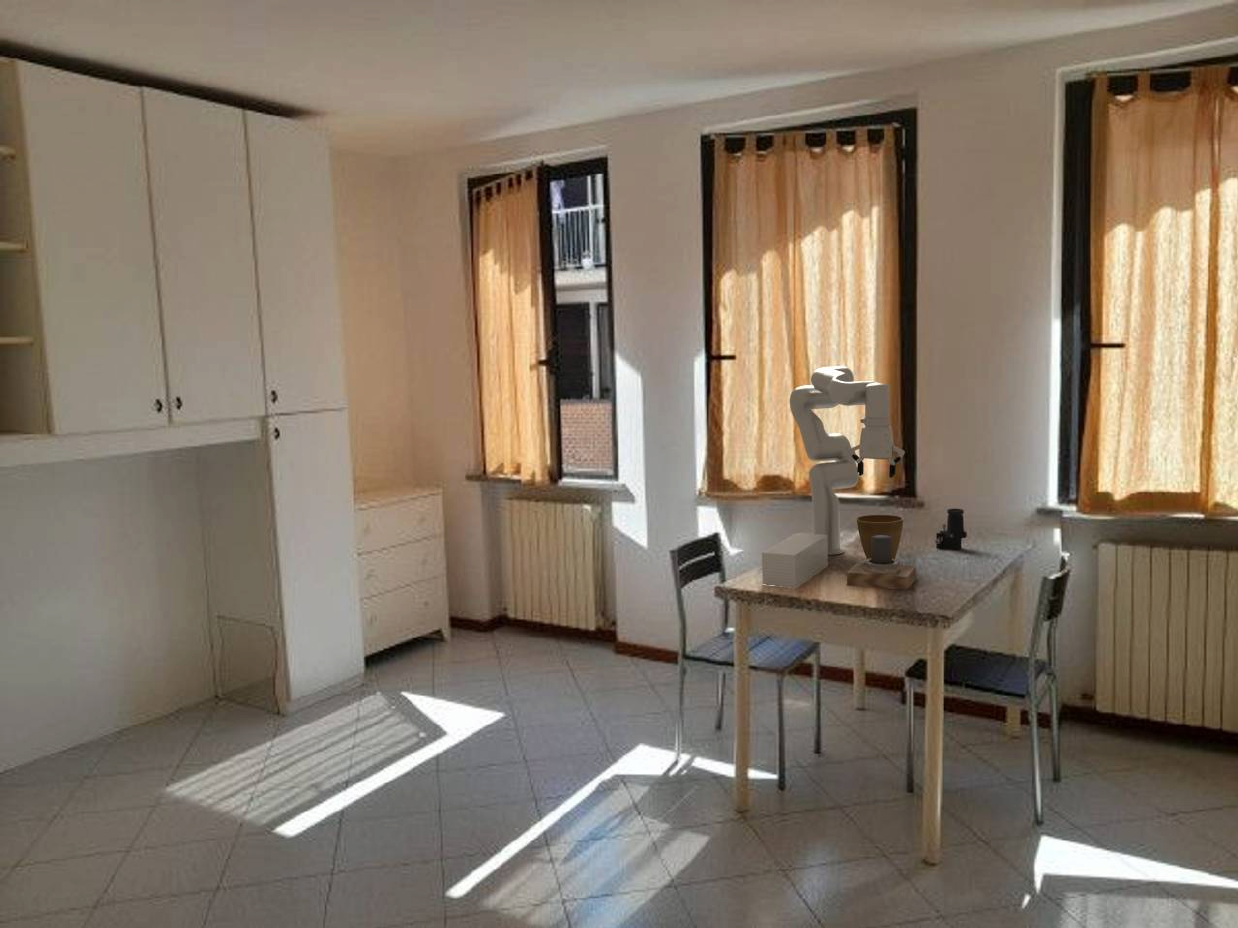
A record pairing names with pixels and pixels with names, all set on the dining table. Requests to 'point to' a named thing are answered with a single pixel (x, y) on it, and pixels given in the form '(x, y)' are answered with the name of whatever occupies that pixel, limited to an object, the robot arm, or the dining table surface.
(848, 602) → the dining table surface
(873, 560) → the lens
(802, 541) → the stack of papers
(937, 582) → the dining table surface
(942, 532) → the scope
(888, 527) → the plant pot
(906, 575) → the wooden block
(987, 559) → the dining table surface
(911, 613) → the dining table surface
